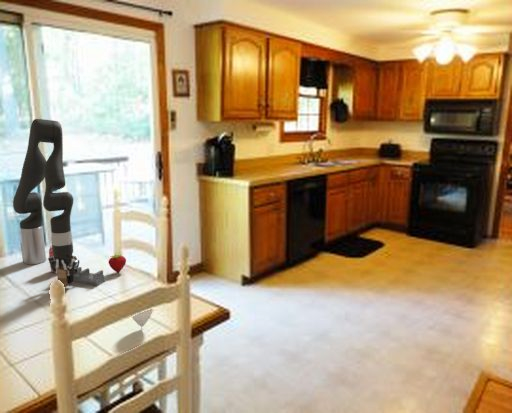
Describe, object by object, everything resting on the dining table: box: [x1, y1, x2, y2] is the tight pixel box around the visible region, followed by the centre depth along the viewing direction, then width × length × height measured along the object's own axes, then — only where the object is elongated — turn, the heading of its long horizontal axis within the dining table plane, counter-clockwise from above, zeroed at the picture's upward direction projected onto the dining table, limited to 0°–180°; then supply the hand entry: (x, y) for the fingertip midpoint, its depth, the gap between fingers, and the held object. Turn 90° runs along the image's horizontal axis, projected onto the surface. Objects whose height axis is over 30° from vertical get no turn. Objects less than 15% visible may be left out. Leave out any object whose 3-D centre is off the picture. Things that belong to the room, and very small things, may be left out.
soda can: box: [48, 244, 57, 274], centre depth 184 cm, size 7×7×12 cm
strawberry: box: [108, 253, 127, 274], centre depth 183 cm, size 6×8×10 cm
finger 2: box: [56, 266, 75, 288], centre depth 167 cm, size 5×4×7 cm
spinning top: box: [131, 308, 154, 328], centre depth 135 cm, size 8×8×12 cm
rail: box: [73, 266, 106, 287], centre depth 174 cm, size 20×5×5 cm, turn 72°
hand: (65, 282), depth 167 cm, fingers closed on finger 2, 4 cm apart
